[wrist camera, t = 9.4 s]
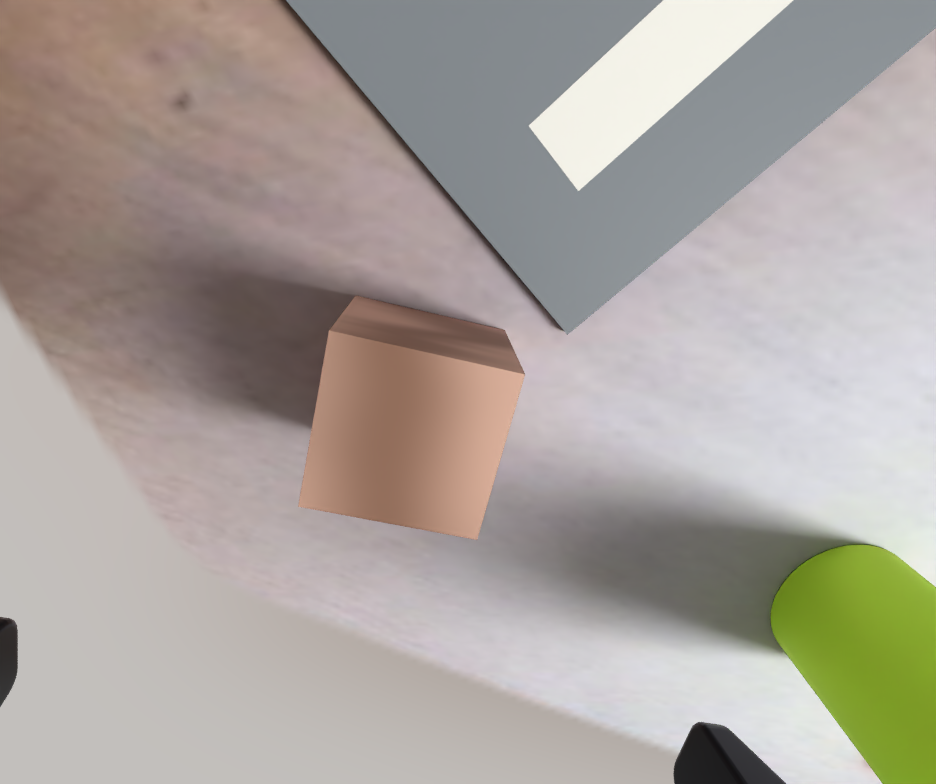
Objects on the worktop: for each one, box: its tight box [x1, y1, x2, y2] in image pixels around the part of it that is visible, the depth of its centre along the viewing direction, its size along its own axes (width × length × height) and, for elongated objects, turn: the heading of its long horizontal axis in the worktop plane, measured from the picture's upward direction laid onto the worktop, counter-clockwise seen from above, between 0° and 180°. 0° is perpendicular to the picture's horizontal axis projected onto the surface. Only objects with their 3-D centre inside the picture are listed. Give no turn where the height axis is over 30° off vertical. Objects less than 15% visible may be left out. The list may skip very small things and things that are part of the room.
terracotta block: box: [298, 296, 525, 540], centre depth 18 cm, size 5×5×5 cm
